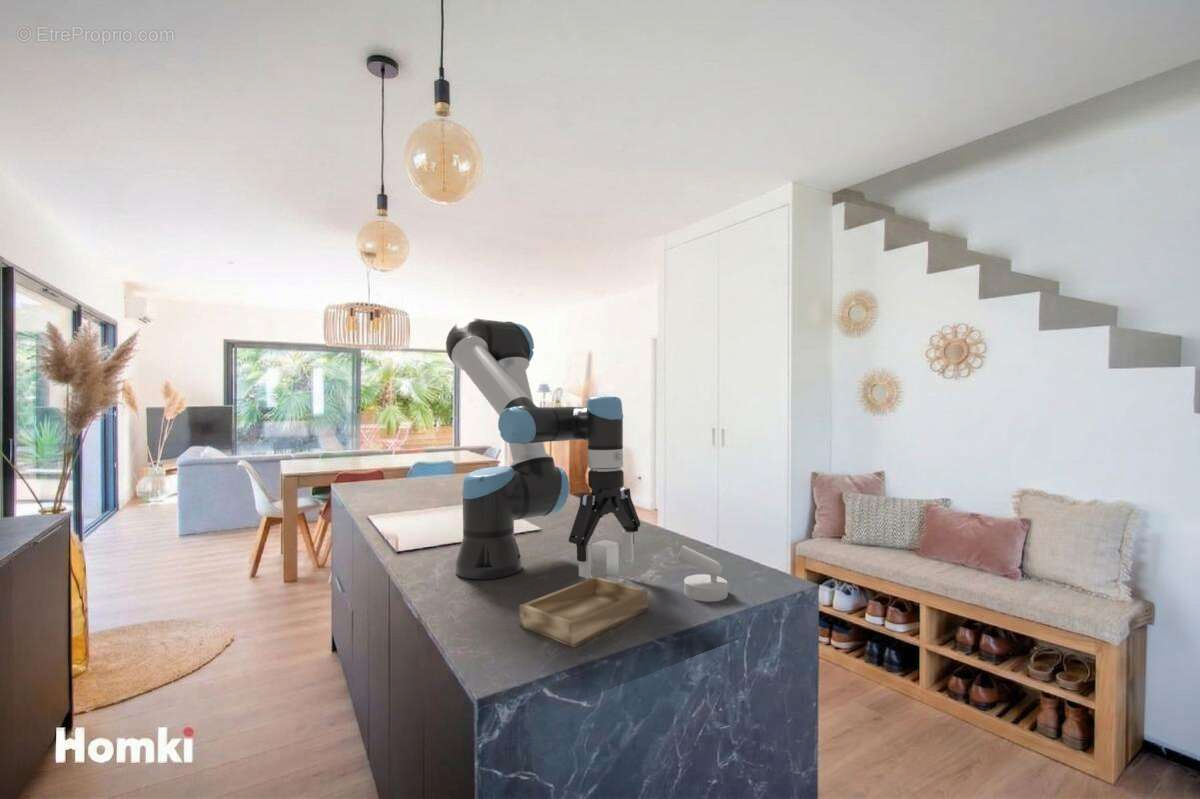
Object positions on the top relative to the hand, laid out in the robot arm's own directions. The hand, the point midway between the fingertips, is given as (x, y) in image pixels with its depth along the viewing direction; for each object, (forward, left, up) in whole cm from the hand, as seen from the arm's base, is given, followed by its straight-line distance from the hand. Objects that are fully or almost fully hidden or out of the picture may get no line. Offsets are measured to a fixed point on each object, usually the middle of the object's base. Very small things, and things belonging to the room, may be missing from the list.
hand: (607, 570), depth 111 cm
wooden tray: (+8, -15, -3) cm, 17 cm away
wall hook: (+18, +9, -4) cm, 20 cm away
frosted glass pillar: (0, 0, -3) cm, 3 cm away
